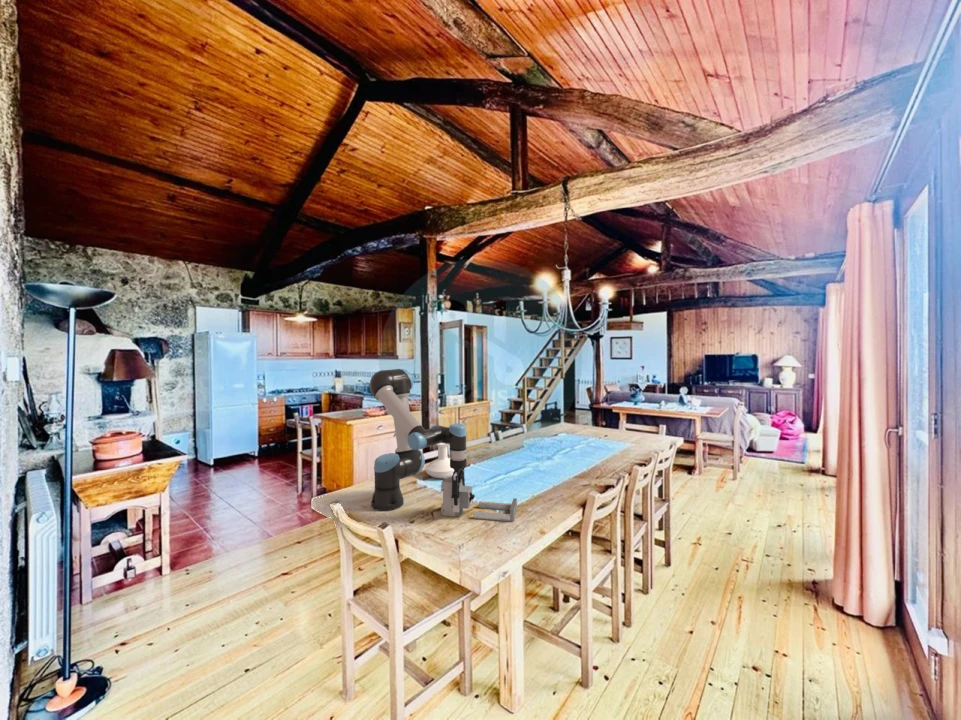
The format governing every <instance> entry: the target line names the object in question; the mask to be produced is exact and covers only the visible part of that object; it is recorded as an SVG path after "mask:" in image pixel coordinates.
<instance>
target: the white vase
mask: <svg viewBox="0 0 961 720" xmlns="http://www.w3.org/2000/svg"><path fill="white" fill-rule="evenodd" d="M435 446H437V453H438V454H437V456H438V457H437V458H436V459H434V460H432V461H431V462H429V463H428V464H427V465H426V466H425V472H426V473H427V475H429V476H430V477H432V478H435V479H445V478H446V477H452V475H453V472H454V469H453V468H451V467H450V459H451V458H450V457H448V446H450V444H445V443H440V444H436V445H435Z"/></svg>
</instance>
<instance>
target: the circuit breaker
mask: <svg viewBox="0 0 961 720" xmlns="http://www.w3.org/2000/svg"><path fill="white" fill-rule="evenodd" d="M440 483H441V485H440V492H442V503H441V505H440V507H441V509H440V510H441V516H447V517H449V516H451V517H459V516H460V515H461V514H462V512H463V510H464V509H467V510H469V508H470V507H471V505H472V503H473V500H474V498H476V497H475V494H473V486H472V485H471V486H470V485H465V486H463V484H462V479H461V482H460V483H461V484H460V487H459V503H460V512H453V498H451V496H452V477H446V478H443V479H442V481H441V482H440ZM458 485H459V483H458Z"/></svg>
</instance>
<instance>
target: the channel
mask: <svg viewBox="0 0 961 720" xmlns="http://www.w3.org/2000/svg"><path fill="white" fill-rule="evenodd" d="M517 499H518V498H516V497H513V499H512V502H511V503H509V502H495V501H494V502H493V501H492V502H490V501H479V503H478V508H479V509H490V510H491V509H492V510H503V509H507V510H506V511H509V513H499V512H485V511H473V519H476V520H477V519H478V520H487V521H488V520H489V521H503V522H514V521H515V517H516V514H517V509H518V500H517Z"/></svg>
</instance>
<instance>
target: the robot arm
mask: <svg viewBox="0 0 961 720" xmlns="http://www.w3.org/2000/svg"><path fill="white" fill-rule="evenodd" d="M413 386H414V377H413V375H412V373H411V372H410V371H408V370H407V369H404V368H396V369H395V368H394V369H382V370H379V371H377V372H375V373H374V374H373V375H372V376H371V378H370V380H369V389H370V392H371V394H372V397H374V399H375V400H376V401H378V402H380V403H381V404H382V405H383V406H384V408H385V409H386V410H387V412H388V413H389V414H390V415H391V417H393V425H394V432H395V439H396V446H397V447H396V448H395V450H394V452H393V453H392V452H391V453H384V454H381V455H378V457H377V458H376V459H375V460H374V462H373V463H374V466H373V471H374V472H373V473H374V492H373V495H372V498H371V501H370V503H371V504H370V505H371V509H373V510H375V511H380V512H381V511H383V512H386V511H394V510H397V509H398V508H399V509H400V508H401V507H402V506H403V505H404V502H405V501H404V495H403V493H402V491H401V488H400V487H401V486H400V485H401V484H400V481H401V480H403V479H404V478H407V477H411V476H415V475H417V474H418V473H420V472H421V471H422V470H423V468H424V467H425V463H426V461H425V459H426V458H425V455H424V453H423V452H422V449H423V450H424V449H425V448H428V447H431V446H432V447H433V446H437V445H436V444H440V443H445V444H450V445H449V459H450V467H451V468H453V469H454V472H453V475H452V496H451V498H453V512H460V503H459V487H460V484H461V483H460V482H461V479H462V484H463V486H466V483H465V481H466V480H465V468H466V467H467V454H469V453H468V451H467V427H466V426H467V425H466V424H463V423H451V424H450V425H449V426H443V425H432V426H431V427H430V428H428V429H425V428H424V427H423V426H422V424H421V423H420V422H419V421H418V419H417V418H416V417H415V416H414V414H413V413H412V412H411V411H410V404H409V396H411V395H410V394H411V390H412V389H413ZM458 483H459V485H458Z"/></svg>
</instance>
